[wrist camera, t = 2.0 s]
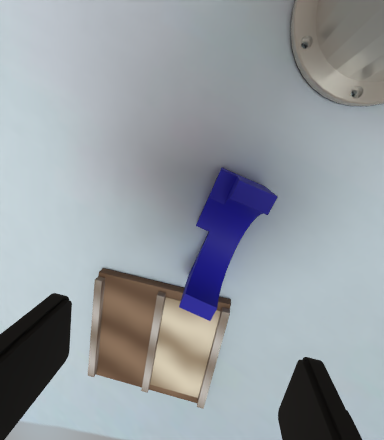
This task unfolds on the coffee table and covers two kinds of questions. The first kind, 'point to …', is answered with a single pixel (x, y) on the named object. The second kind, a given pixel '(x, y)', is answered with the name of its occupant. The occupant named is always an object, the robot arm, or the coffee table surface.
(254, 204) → the cable clip
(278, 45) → the coffee table surface
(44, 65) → the coffee table surface
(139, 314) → the organizer board
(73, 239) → the coffee table surface
